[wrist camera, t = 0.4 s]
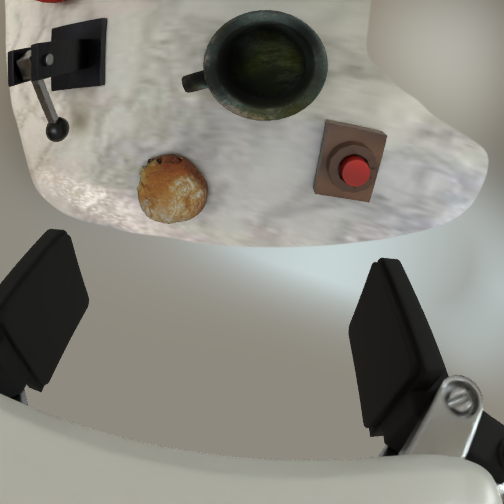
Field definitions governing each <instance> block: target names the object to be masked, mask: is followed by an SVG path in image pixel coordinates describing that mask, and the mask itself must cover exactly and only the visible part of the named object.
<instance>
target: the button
mask: <svg viewBox="0 0 504 504" xmlns="http://www.w3.org/2000/svg"><path fill="white" fill-rule="evenodd" d="M340 173H341V175H342V177H343V179H344V181H345V182H346V183H347V184H348V185H350V186H354V187H357V186H361V185H363V184H365V183H366V182H367V180H368V179H369V176H370V169H369V166H368V165H367V164H366V162H365V161H364V160H363V159H362V158H361V157H359V156H349V157H347V158H345V159H344V160H343V161H342V163H341V165H340Z"/></svg>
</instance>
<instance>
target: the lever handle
mask: <svg viewBox="0 0 504 504" xmlns="http://www.w3.org/2000/svg"><path fill="white" fill-rule="evenodd" d="M16 62H17V65H18V68H19V70H20V73H21V75H22V78H23V79H27V78H30V79H31V50H29V51H27V52H26V53H25V54H24V55H23V56H21V57H20V58H19V59H18V60H17V61H16ZM32 84H33V86H34V89H35V91H36V94H37V96H38V99H39V101H40V104H41V106H42V108H43V111H44V113H45V115H46V118H47V120H48V122H49V123H48V124H47V127H46V135H47V137H48V139H49V140H51V141H53V142H59V141H62V140H63V139H65V138H66V136H67V135H68V132H69V124H68V122H67V120H66V119H64V118H62V117H58V116H57V114H56V111H55V109H54V106H53V104H52V101H51V98H50V96H49V93H48V91H47V88H46V85H45V83H44V80H43V79H42V80H38V81H34V82H32Z"/></svg>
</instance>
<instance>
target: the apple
mask: <svg viewBox="0 0 504 504" xmlns="http://www.w3.org/2000/svg"><path fill="white" fill-rule="evenodd" d="M37 1H40V2H47V3H57V2H62V1H65V0H37Z"/></svg>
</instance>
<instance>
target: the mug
mask: <svg viewBox="0 0 504 504" xmlns="http://www.w3.org/2000/svg"><path fill="white" fill-rule="evenodd" d="M203 68H204V70H203V71H200V72H196V73H193V74H189V75H186V76H183V78H182V84H183V87H184V90H185V92H188V93H189V92H194V91H198V90H202V89H205V88H209V90H210V91H211V93H212V95H213V96H214V97H215V98H216V100H217V101H218V102H219V103H220V104H221V105H223V106H224V107H225V108H226V109H228V110H229V111H231V112H233V113H235V114H237V115H239V116H241V117H245V118H248V119H253V120H260V121H271V120H279V119H282V118H286V117H289V116H292V115H294V114H296V113H298V112H300V111H301V110H303V109H305V108H306V107H307V106H308V105H309V104H311V103H312V102H313V101H314V99H315V98H316V97H317V96H318V94H319V93H320V91H321V90H322V88H323V85H324V83H325V81H326V76H327V71H328V61H327V54H326V51H325V48H324V45H323V43H322V42H321V40H320V38H319V37H318V35H317V34H316V33H315V31H314V30H313V29H312V28H311V27H309V26H308V25H307V24H306V23H304V22H303V21H302V20H300V19H298V18H296V17H294V16H292V15H290V14H286V13H283V12H278V11H272V10H260V11H253V12H248V13H245V14H242V15H239V16H237V17H235V18H233V19H231V20H230V21H228V22H227V23H225V24H224V25H223V26H222V27H221V28H220V29H219V30H218V31H217V32H216V33H215V34H214V36H213V37H212V38H211V40H210V42H209V44H208V46H207V49H206V52H205V55H204V62H203Z"/></svg>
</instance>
